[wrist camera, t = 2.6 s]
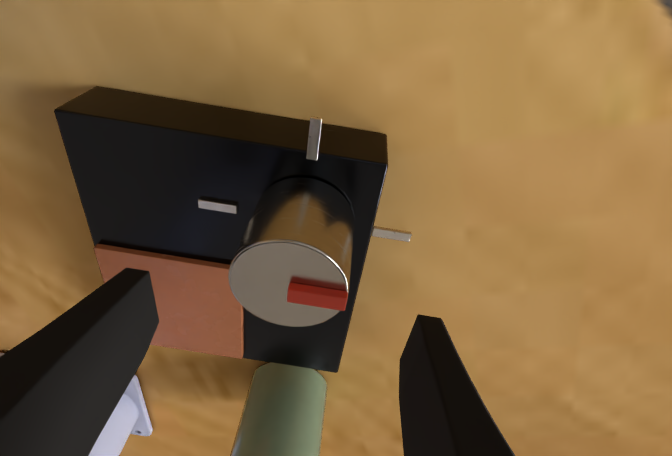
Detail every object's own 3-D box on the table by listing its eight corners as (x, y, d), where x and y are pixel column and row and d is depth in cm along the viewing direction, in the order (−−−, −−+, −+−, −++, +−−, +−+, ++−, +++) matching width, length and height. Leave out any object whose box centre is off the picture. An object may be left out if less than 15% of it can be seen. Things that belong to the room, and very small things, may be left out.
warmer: (145, 302, 22) (120, 342, 20) (88, 51, 14) (36, 72, 12) (365, 337, 22) (364, 380, 20) (432, 108, 14) (442, 139, 12)
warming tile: (124, 335, 20) (121, 340, 20) (97, 242, 16) (93, 247, 16) (243, 353, 20) (242, 359, 20) (243, 266, 16) (241, 271, 16)
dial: (255, 248, 16) (225, 325, 13) (257, 168, 13) (221, 237, 10) (346, 263, 16) (338, 343, 13) (362, 185, 14) (357, 259, 10)
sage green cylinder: (252, 395, 27) (225, 497, 22) (253, 353, 24) (221, 459, 19) (322, 406, 27) (310, 510, 22) (332, 365, 24) (320, 475, 19)
